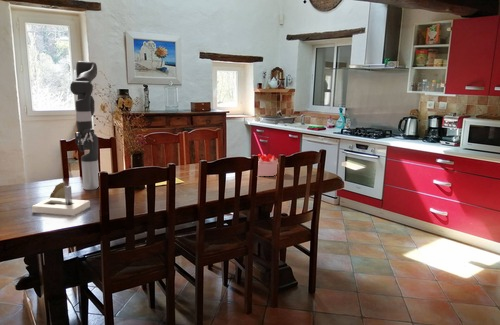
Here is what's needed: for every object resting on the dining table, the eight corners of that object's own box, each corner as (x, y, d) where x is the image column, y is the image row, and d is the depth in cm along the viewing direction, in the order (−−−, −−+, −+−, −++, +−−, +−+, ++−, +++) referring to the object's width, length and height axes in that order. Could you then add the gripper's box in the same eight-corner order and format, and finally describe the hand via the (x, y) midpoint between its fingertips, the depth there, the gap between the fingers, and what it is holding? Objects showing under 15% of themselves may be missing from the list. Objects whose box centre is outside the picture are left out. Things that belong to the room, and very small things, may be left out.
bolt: (68, 207, 194) (66, 185, 191) (76, 208, 193) (75, 185, 190) (62, 211, 189) (60, 187, 186) (70, 211, 188) (69, 188, 186)
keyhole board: (51, 204, 200) (50, 197, 199) (90, 207, 197) (89, 200, 196) (32, 213, 186) (31, 206, 186) (73, 216, 183) (73, 209, 182)
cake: (275, 178, 267) (276, 158, 264) (247, 176, 271) (248, 156, 268) (279, 172, 285) (280, 153, 282) (254, 170, 290) (254, 151, 287)
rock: (46, 200, 199) (67, 196, 203) (44, 185, 202) (65, 181, 206) (51, 206, 209) (71, 202, 212) (49, 192, 212) (69, 188, 215)
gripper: (85, 118, 206) (87, 147, 210) (69, 121, 193) (71, 152, 196) (98, 118, 205) (99, 148, 209) (82, 121, 192) (85, 153, 195)
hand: (86, 150), depth 203 cm, fingers open, 8 cm apart
